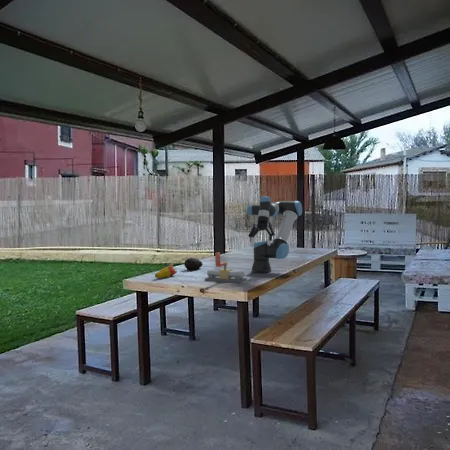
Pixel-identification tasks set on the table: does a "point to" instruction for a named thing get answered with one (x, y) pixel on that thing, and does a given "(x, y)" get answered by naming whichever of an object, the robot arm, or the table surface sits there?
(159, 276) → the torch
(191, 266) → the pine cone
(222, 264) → the lever
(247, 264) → the table surface
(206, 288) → the table surface
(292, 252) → the table surface
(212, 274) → the valve base
